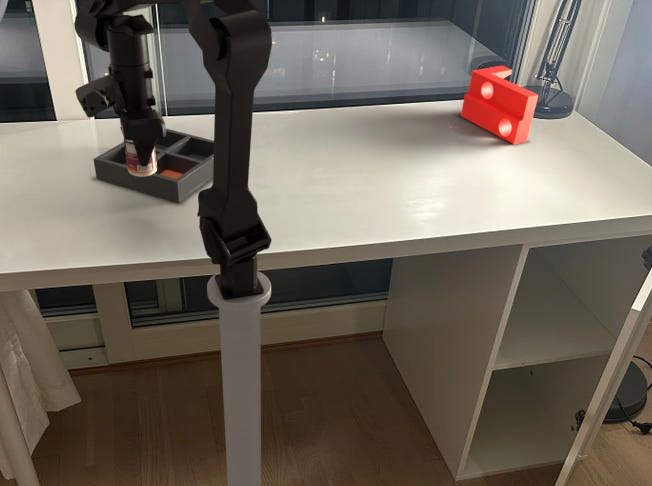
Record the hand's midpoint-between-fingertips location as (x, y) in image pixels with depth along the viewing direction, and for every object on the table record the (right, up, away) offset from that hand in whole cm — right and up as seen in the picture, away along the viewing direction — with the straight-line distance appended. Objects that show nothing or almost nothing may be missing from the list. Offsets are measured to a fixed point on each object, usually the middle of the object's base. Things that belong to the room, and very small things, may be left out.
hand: (141, 159), depth 115 cm
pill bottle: (0, -2, +1) cm, 2 cm away
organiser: (-1, +4, +24) cm, 24 cm away
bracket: (+73, +21, +48) cm, 90 cm away
